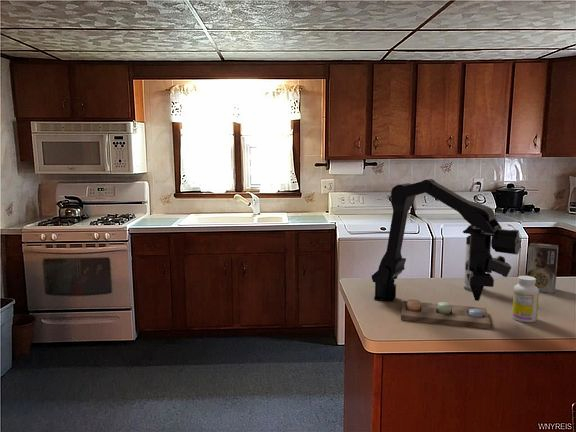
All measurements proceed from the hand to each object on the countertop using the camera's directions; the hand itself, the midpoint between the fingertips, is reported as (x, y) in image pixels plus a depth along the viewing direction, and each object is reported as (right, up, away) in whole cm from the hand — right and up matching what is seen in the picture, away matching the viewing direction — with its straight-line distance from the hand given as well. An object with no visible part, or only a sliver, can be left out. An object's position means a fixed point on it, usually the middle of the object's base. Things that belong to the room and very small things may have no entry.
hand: (476, 300), depth 138 cm
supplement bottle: (+14, -6, +1) cm, 16 cm away
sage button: (-9, -4, +3) cm, 10 cm away
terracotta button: (-17, -4, +6) cm, 19 cm away
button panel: (-9, -6, +4) cm, 11 cm away
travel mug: (+11, -1, +29) cm, 31 cm away
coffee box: (+34, -1, +28) cm, 44 cm away
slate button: (0, -6, +1) cm, 6 cm away
